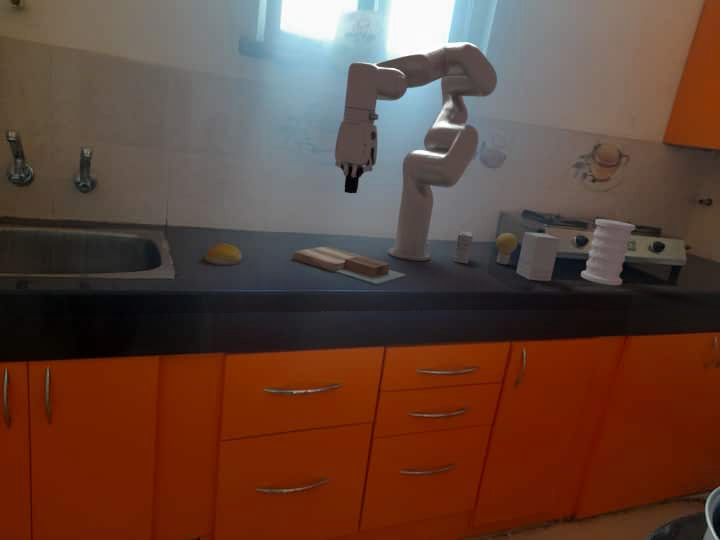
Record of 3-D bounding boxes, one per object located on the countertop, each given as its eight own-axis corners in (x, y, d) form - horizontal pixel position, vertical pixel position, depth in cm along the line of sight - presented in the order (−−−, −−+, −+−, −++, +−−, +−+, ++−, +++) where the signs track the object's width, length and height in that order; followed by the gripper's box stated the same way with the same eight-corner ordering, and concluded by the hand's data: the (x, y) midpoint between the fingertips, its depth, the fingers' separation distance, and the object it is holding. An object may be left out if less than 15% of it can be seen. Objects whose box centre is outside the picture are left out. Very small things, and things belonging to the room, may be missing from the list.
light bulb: (499, 260, 163) (505, 230, 160) (516, 265, 158) (523, 235, 156) (488, 261, 159) (494, 231, 156) (505, 267, 154) (511, 235, 152)
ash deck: (325, 253, 142) (326, 246, 142) (366, 264, 135) (366, 257, 134) (292, 258, 131) (293, 251, 130) (334, 271, 124) (335, 264, 123)
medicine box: (468, 264, 152) (473, 236, 149) (453, 262, 152) (458, 234, 150) (467, 259, 159) (472, 232, 157) (453, 256, 160) (458, 230, 158)
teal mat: (367, 265, 135) (367, 263, 135) (405, 276, 128) (406, 274, 128) (336, 272, 123) (336, 270, 123) (376, 284, 117) (376, 283, 117)
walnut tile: (359, 265, 132) (360, 256, 131) (388, 273, 127) (389, 264, 126) (343, 268, 126) (345, 259, 126) (373, 277, 121) (374, 267, 121)
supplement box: (551, 281, 143) (561, 238, 140) (528, 280, 141) (537, 236, 138) (537, 274, 150) (546, 233, 147) (515, 272, 148) (523, 231, 145)
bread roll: (201, 264, 117) (202, 247, 116) (211, 255, 125) (212, 239, 124) (237, 267, 117) (238, 251, 116) (244, 259, 126) (245, 243, 125)
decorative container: (609, 277, 160) (624, 221, 155) (628, 287, 149) (644, 228, 144) (574, 272, 159) (587, 217, 155) (590, 282, 148) (605, 223, 144)
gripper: (392, 121, 121) (383, 197, 126) (343, 116, 129) (336, 187, 133) (376, 118, 115) (366, 198, 119) (325, 113, 123) (318, 188, 127)
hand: (350, 192), depth 126 cm, fingers closed
